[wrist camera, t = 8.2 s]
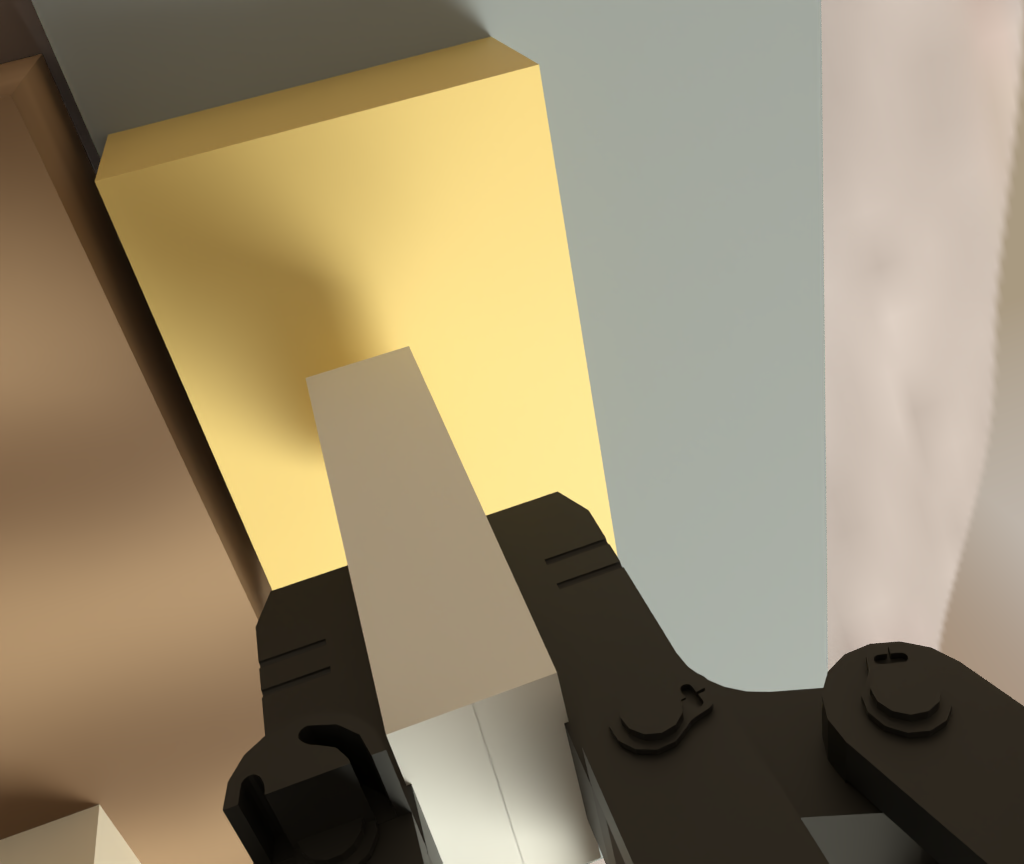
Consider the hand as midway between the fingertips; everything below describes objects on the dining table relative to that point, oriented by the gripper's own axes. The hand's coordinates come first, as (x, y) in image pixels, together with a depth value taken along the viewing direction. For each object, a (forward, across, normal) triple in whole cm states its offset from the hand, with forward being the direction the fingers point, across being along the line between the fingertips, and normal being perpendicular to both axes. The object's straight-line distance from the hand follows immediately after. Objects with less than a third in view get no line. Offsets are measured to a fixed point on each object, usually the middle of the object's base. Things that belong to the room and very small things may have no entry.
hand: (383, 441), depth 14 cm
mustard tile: (+4, 0, 0) cm, 4 cm away
